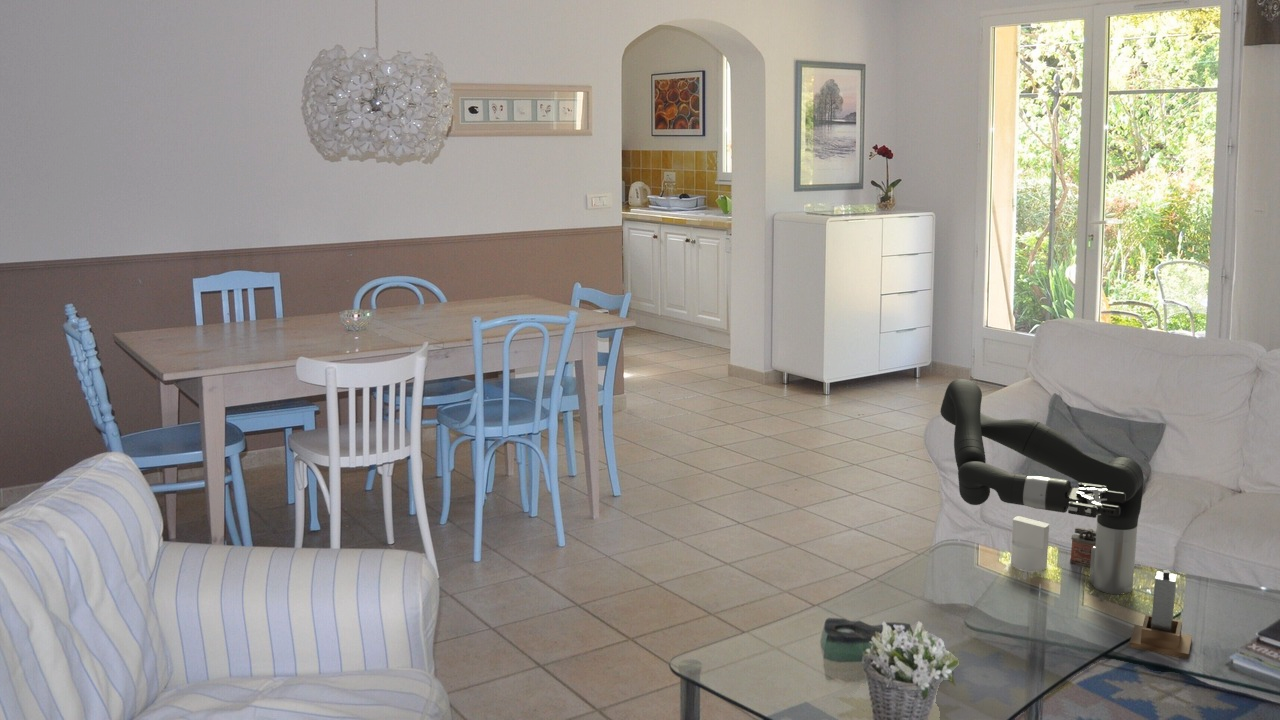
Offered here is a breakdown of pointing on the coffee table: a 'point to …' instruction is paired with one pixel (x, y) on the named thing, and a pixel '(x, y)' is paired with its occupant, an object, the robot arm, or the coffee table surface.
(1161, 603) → the tall gray rectangular post
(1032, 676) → the coffee table surface
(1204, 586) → the coffee table surface
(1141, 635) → the brown open box stand
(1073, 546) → the lighter
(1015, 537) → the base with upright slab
